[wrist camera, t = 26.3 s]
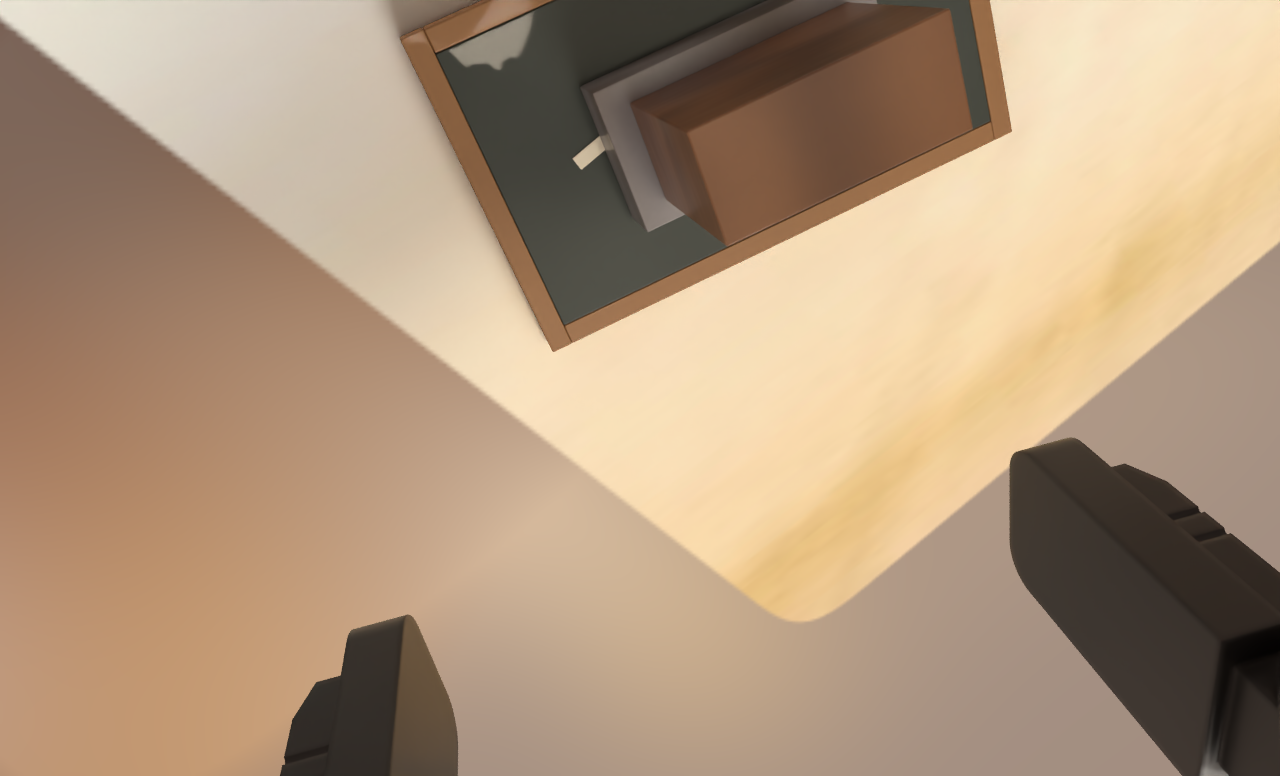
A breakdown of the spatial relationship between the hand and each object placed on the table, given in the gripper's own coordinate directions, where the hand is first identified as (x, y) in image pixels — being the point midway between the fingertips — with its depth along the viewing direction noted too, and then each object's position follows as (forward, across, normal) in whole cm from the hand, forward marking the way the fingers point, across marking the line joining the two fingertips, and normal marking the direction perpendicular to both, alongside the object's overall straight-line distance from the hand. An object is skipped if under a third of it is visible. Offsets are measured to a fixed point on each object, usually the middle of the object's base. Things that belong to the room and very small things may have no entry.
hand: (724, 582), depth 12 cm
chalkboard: (+24, -7, -1) cm, 25 cm away
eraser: (+23, -6, -1) cm, 24 cm away
